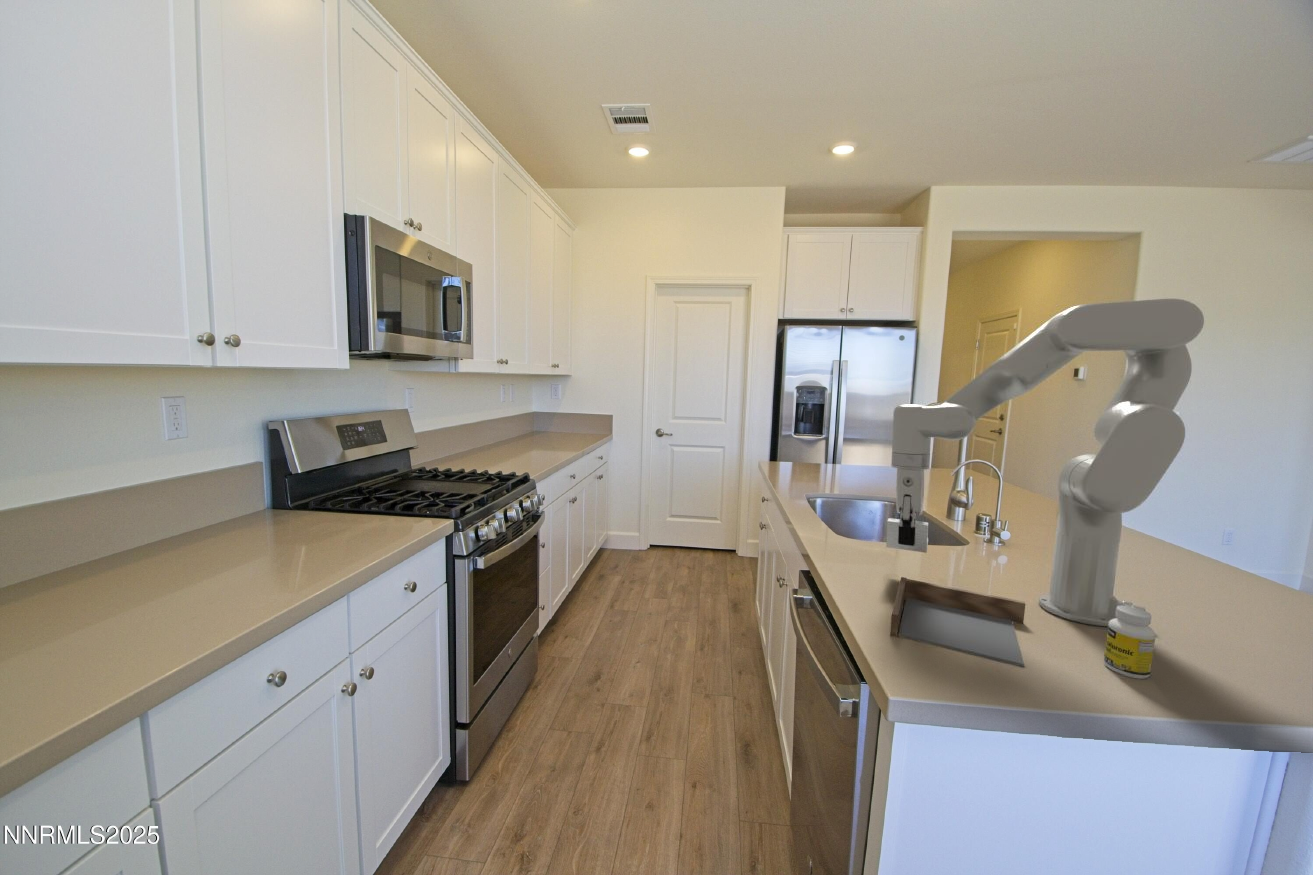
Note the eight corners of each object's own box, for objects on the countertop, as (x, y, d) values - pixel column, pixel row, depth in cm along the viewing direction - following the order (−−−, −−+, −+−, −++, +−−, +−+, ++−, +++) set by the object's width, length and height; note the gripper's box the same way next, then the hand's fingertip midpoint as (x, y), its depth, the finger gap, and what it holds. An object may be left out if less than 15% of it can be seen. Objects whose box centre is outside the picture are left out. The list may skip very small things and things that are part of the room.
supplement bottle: (1094, 660, 82) (1101, 603, 81) (1124, 660, 83) (1132, 602, 82) (1127, 680, 77) (1135, 618, 76) (1160, 679, 77) (1168, 618, 76)
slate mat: (1011, 622, 95) (1012, 620, 95) (1023, 666, 80) (1024, 664, 80) (906, 599, 104) (906, 597, 104) (898, 635, 89) (898, 633, 89)
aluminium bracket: (886, 547, 113) (887, 520, 113) (890, 537, 121) (891, 512, 121) (926, 552, 109) (927, 525, 109) (928, 542, 117) (929, 516, 117)
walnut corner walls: (1022, 620, 96) (1024, 600, 96) (1038, 672, 78) (1041, 648, 78) (899, 595, 106) (901, 576, 106) (889, 635, 89) (891, 613, 88)
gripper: (928, 466, 102) (924, 555, 104) (930, 457, 116) (927, 535, 118) (887, 464, 106) (884, 549, 107) (895, 455, 120) (891, 531, 121)
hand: (906, 541), depth 113 cm, fingers closed on aluminium bracket, 3 cm apart
